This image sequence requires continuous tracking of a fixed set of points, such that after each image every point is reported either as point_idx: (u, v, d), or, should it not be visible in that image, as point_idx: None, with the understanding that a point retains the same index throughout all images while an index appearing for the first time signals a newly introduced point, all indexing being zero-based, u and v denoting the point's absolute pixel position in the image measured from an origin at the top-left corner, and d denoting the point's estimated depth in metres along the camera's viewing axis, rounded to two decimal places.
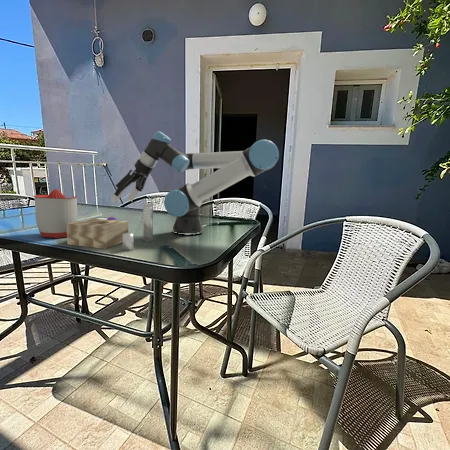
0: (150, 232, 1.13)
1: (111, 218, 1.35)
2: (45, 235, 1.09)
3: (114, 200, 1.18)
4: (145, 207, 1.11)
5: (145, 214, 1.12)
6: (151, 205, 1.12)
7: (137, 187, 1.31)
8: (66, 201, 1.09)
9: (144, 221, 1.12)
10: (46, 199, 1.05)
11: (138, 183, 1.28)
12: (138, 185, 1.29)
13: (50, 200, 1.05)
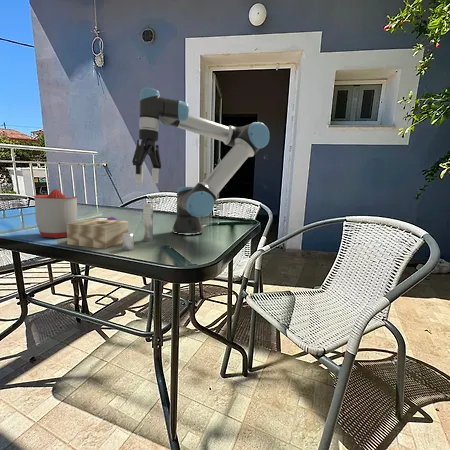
0: (150, 232, 1.13)
1: (111, 218, 1.35)
2: (45, 235, 1.09)
3: (139, 181, 1.05)
4: (145, 207, 1.11)
5: (145, 214, 1.12)
6: (151, 205, 1.12)
7: (155, 166, 1.18)
8: (66, 201, 1.09)
9: (144, 221, 1.12)
10: (46, 199, 1.05)
11: (153, 159, 1.14)
12: (154, 161, 1.15)
13: (50, 200, 1.05)
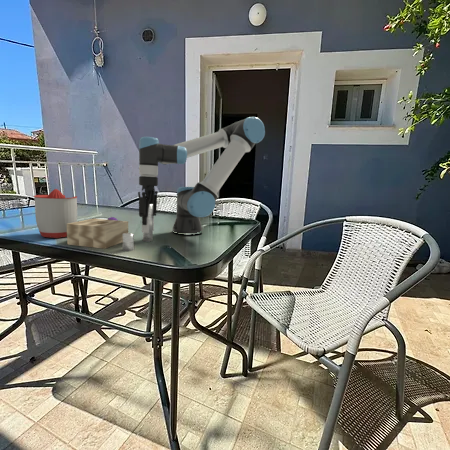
0: (150, 232, 1.13)
1: (111, 218, 1.35)
2: (45, 235, 1.09)
3: (146, 230, 1.12)
4: None
5: None
6: (151, 205, 1.12)
7: None
8: (66, 201, 1.09)
9: None
10: (46, 199, 1.05)
11: None
12: None
13: (50, 200, 1.05)
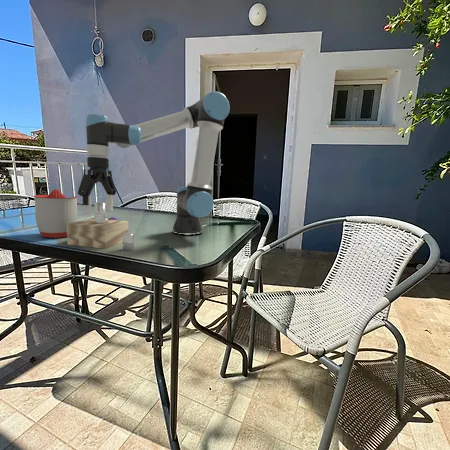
0: None
1: (112, 218, 1.34)
2: (45, 235, 1.09)
3: (87, 212, 0.99)
4: (96, 206, 1.05)
5: (96, 213, 1.05)
6: (103, 204, 1.05)
7: (109, 192, 1.12)
8: (66, 201, 1.09)
9: (95, 221, 1.06)
10: (46, 199, 1.05)
11: (106, 185, 1.09)
12: (107, 188, 1.10)
13: (50, 200, 1.05)
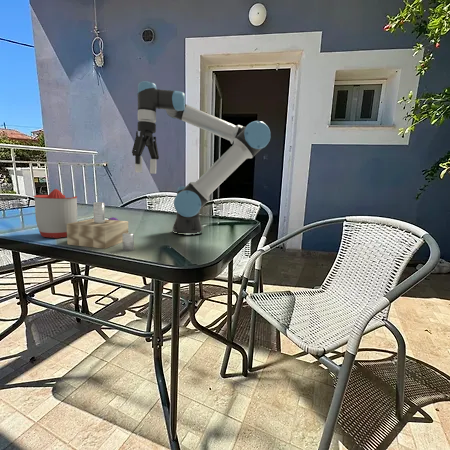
0: None
1: (112, 218, 1.34)
2: (45, 235, 1.09)
3: (139, 170, 1.10)
4: (95, 206, 1.04)
5: (95, 214, 1.05)
6: (102, 204, 1.05)
7: (153, 157, 1.23)
8: (66, 201, 1.09)
9: (94, 221, 1.05)
10: (46, 199, 1.05)
11: (151, 150, 1.20)
12: (152, 152, 1.21)
13: (50, 200, 1.05)
